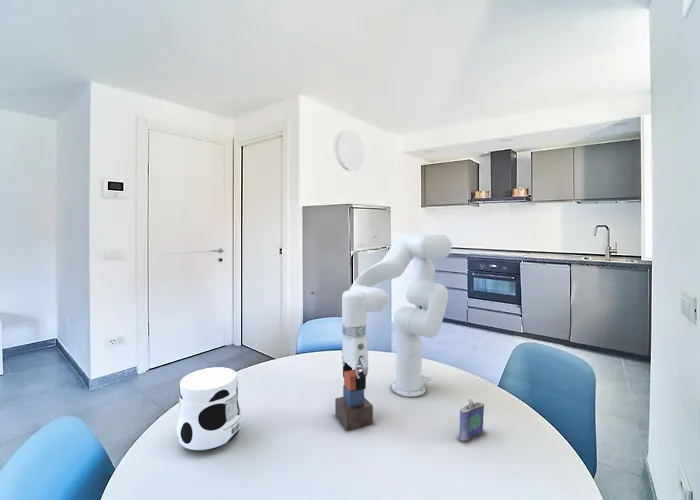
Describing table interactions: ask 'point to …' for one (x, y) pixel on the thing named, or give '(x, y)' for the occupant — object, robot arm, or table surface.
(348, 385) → the terracotta cube
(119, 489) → the table surface
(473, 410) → the flask
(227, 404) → the milk container
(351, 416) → the walnut base
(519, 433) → the table surface
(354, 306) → the robot arm
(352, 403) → the blue cube
